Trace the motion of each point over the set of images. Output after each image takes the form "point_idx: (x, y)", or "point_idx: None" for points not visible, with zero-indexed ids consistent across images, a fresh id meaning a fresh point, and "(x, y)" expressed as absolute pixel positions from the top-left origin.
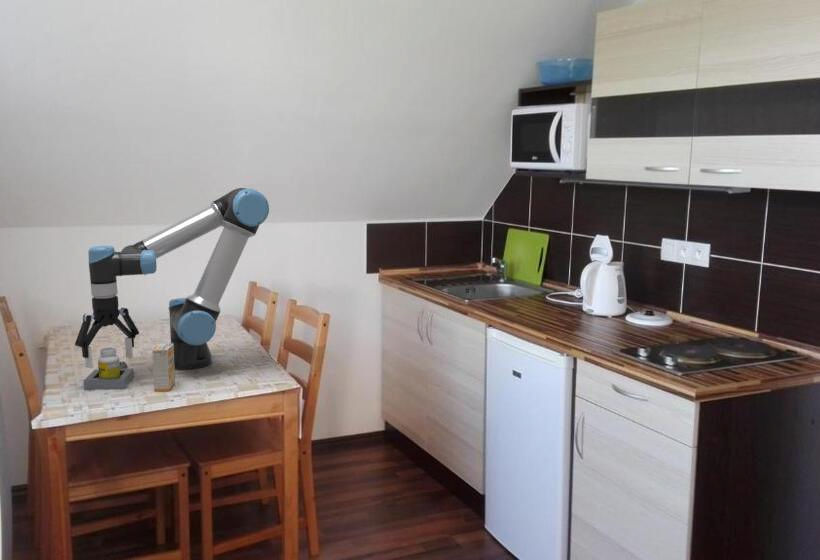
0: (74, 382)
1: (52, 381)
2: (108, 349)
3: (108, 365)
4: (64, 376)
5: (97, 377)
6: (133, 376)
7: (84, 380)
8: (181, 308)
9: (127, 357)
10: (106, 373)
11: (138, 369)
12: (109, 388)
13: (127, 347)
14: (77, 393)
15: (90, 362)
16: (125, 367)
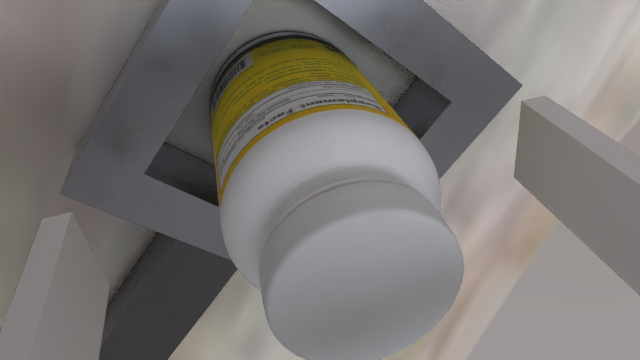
0: None
1: (496, 306)
2: (361, 299)
3: (370, 101)
4: (417, 353)
5: None
6: (82, 141)
7: (517, 81)
8: None
9: (99, 267)
10: (365, 78)
11: (3, 316)
12: None
13: (72, 353)
14: (554, 3)
15: (583, 123)
16: None
